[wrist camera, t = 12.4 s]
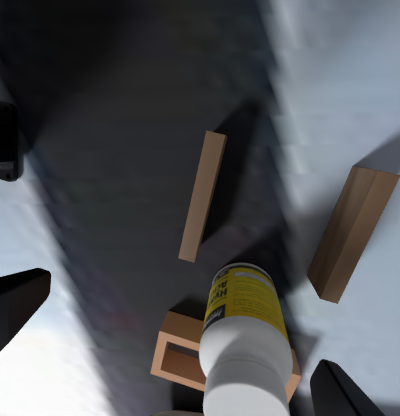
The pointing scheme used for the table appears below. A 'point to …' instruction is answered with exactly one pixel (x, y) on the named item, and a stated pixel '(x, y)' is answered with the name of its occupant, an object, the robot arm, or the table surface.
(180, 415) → the square plate
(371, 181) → the walled lane
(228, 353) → the supplement bottle
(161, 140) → the table surface
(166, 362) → the trap pit
